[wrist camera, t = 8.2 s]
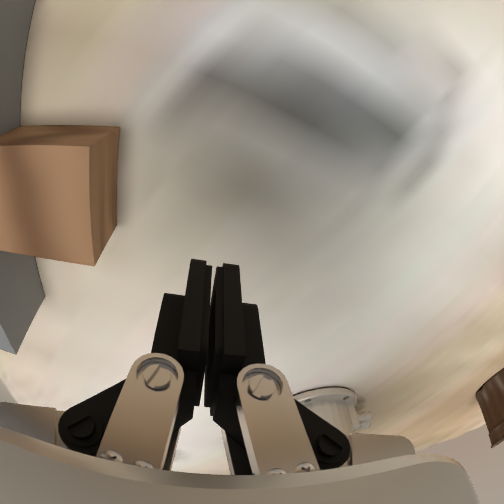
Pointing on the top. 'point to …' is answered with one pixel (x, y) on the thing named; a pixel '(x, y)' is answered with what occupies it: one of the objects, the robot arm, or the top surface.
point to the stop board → (3, 120)
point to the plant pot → (493, 407)
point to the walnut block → (58, 191)
